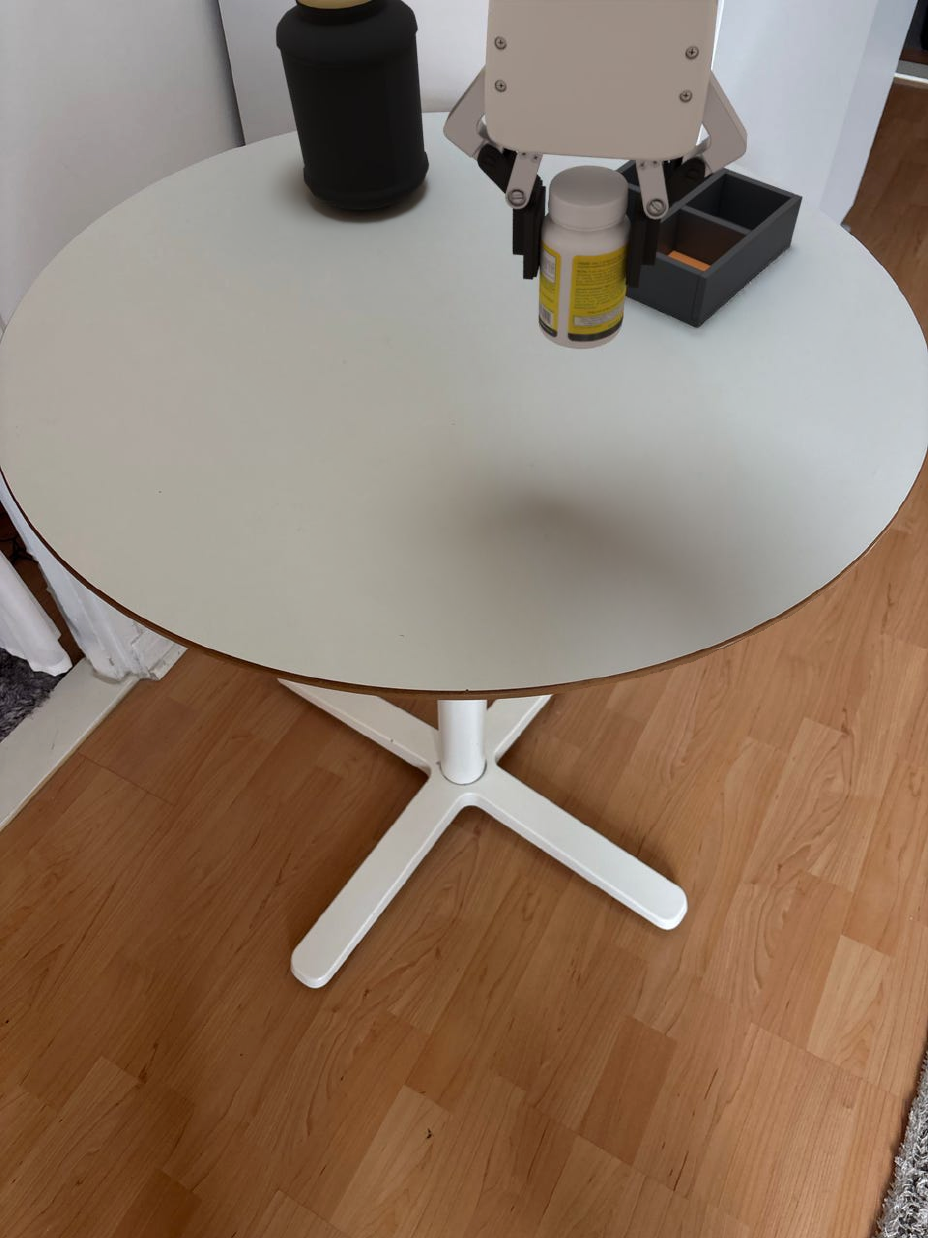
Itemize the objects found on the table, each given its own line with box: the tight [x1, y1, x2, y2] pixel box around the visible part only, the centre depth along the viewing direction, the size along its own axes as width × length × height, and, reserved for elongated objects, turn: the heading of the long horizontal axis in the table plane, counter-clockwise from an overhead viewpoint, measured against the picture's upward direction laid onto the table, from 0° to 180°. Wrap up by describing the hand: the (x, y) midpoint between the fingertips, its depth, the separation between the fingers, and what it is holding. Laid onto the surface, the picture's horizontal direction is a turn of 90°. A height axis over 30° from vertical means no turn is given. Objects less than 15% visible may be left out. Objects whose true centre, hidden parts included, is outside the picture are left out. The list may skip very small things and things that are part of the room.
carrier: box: [614, 159, 804, 328], centre depth 83 cm, size 15×15×4 cm
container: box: [275, 0, 430, 211], centre depth 86 cm, size 12×12×18 cm
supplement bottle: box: [538, 164, 631, 350], centre depth 53 cm, size 5×5×8 cm
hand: (583, 266), depth 53 cm, fingers closed on supplement bottle, 4 cm apart
